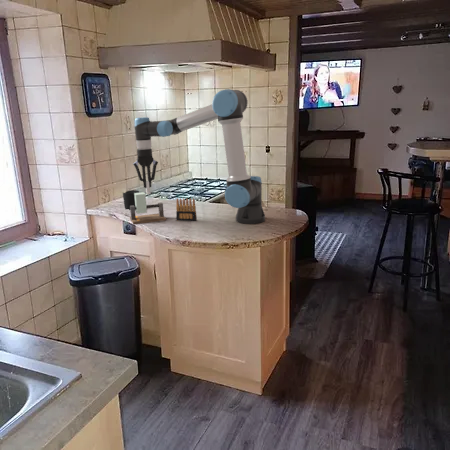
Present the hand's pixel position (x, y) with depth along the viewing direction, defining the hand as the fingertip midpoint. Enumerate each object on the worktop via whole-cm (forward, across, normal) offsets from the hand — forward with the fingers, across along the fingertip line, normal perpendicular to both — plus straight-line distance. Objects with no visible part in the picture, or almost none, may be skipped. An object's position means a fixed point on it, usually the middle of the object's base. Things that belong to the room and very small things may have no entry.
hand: (148, 193), depth 227 cm
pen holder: (+14, +5, -31) cm, 35 cm away
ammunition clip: (+14, -17, +11) cm, 25 cm away
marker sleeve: (+10, +4, 0) cm, 10 cm away
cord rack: (+14, +1, 0) cm, 14 cm away
